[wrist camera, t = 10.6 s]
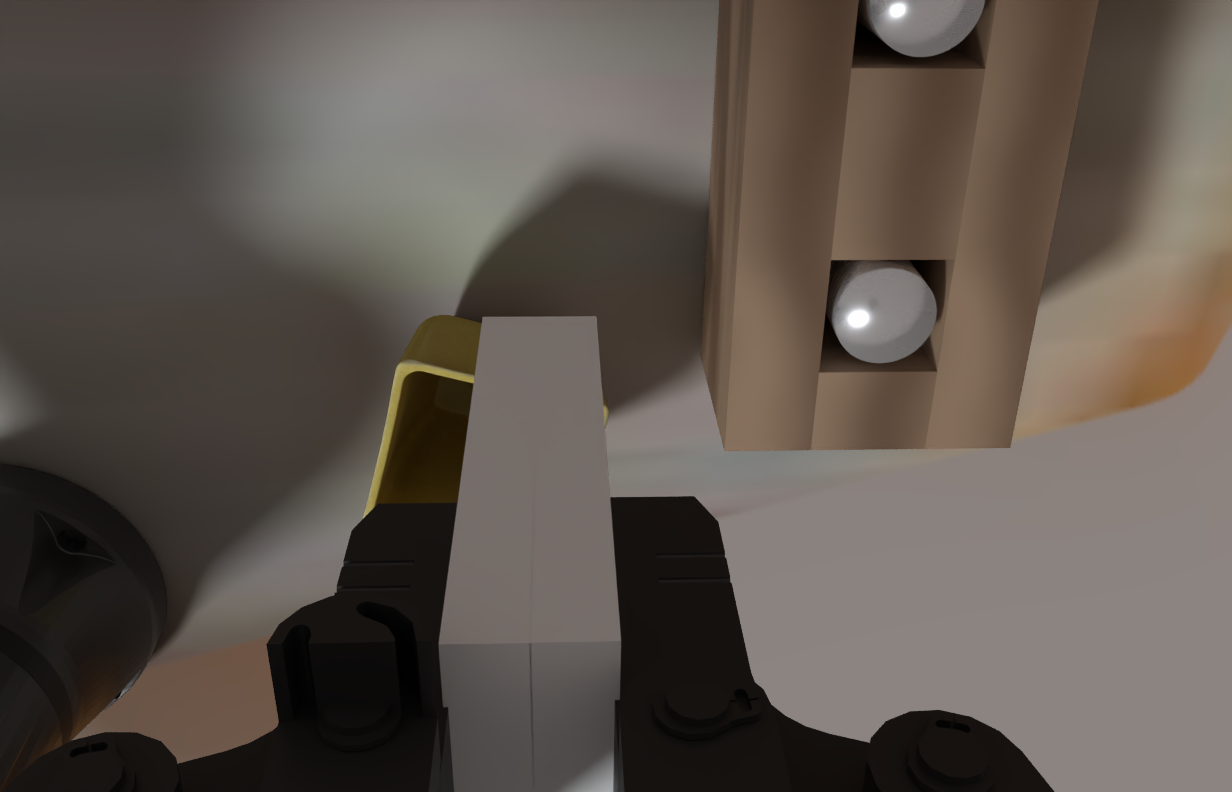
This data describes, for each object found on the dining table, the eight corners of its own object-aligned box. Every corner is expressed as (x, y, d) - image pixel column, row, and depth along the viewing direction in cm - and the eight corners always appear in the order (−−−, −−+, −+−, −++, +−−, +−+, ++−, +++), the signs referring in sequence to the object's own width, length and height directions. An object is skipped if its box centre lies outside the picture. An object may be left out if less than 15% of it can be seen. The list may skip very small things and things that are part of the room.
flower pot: (557, 470, 59) (558, 578, 51) (385, 432, 58) (358, 538, 50) (604, 315, 55) (613, 406, 47) (421, 271, 54) (397, 357, 46)
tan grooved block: (700, 355, 56) (724, 451, 48) (730, -206, 45) (767, -201, 37) (946, 353, 57) (1010, 447, 49) (1036, -201, 46) (1138, -196, 38)
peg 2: (790, 277, 55) (830, 363, 47) (797, 195, 53) (840, 270, 45) (874, 277, 55) (929, 362, 47) (885, 195, 53) (943, 269, 45)
